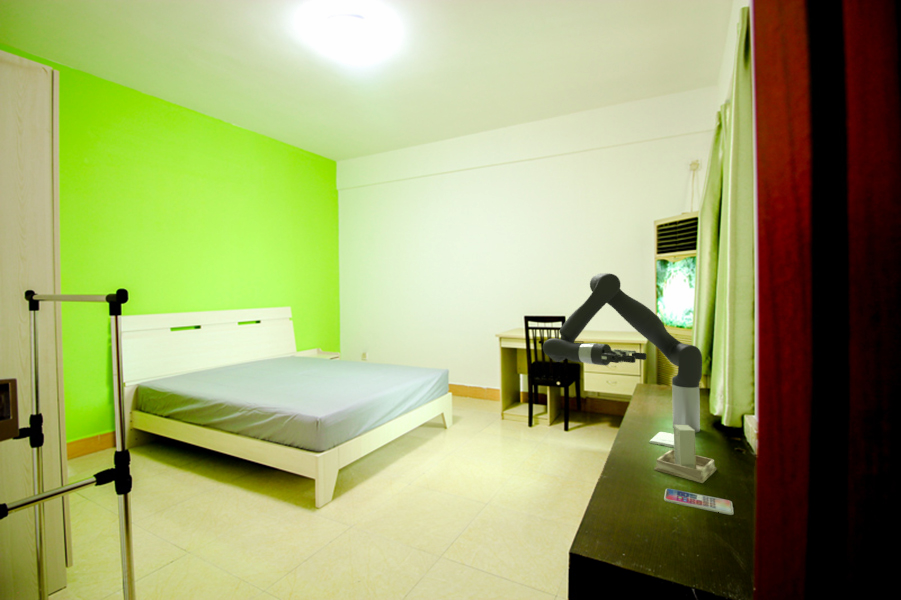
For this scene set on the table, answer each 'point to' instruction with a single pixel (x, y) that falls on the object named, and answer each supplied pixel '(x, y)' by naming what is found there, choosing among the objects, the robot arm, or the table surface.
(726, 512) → the smartphone
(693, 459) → the skincare box
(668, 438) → the external hard drive
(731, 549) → the table surface
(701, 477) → the wooden tray
